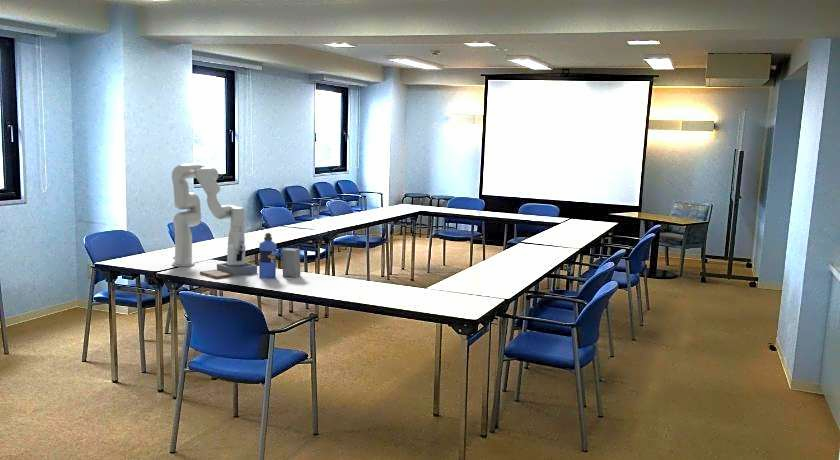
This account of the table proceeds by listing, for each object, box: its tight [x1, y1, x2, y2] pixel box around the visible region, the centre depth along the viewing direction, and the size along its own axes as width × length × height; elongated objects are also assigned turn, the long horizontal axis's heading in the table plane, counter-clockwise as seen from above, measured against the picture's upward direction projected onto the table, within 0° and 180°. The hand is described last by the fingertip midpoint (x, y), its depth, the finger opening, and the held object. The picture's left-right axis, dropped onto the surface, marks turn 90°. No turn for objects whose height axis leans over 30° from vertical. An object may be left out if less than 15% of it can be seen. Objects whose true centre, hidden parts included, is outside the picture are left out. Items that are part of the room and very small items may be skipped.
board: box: [199, 268, 233, 280], centre depth 391 cm, size 16×10×2 cm, turn 50°
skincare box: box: [281, 247, 301, 278], centre depth 399 cm, size 8×7×16 cm
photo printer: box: [226, 244, 246, 265], centre depth 401 cm, size 10×4×12 cm, turn 124°
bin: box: [216, 262, 258, 277], centre depth 402 cm, size 16×16×4 cm
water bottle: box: [258, 232, 277, 279], centre depth 393 cm, size 9×9×25 cm
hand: (236, 259), depth 401 cm, fingers closed on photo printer, 5 cm apart
